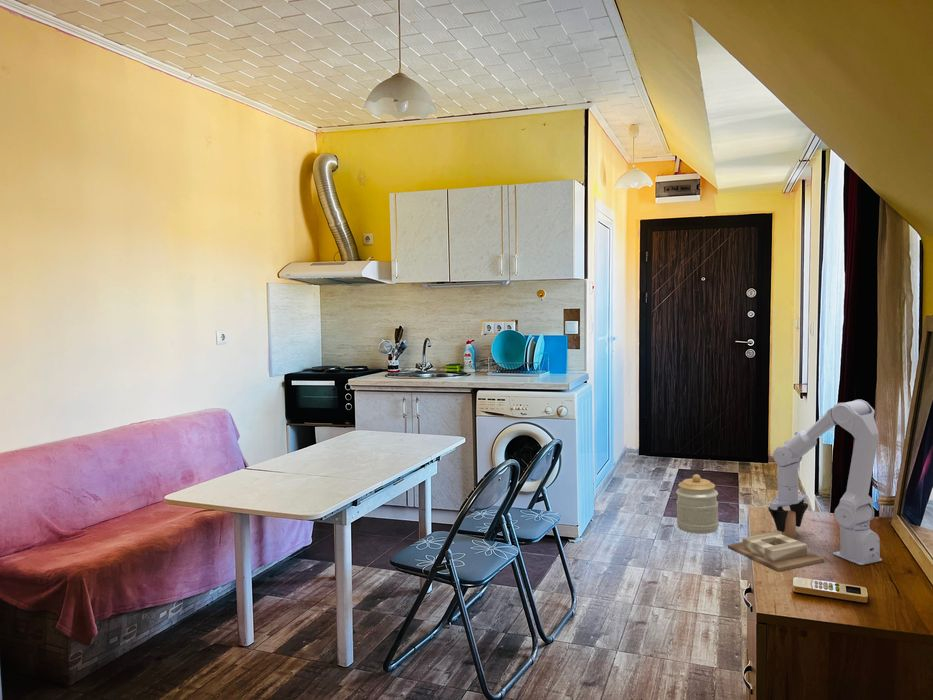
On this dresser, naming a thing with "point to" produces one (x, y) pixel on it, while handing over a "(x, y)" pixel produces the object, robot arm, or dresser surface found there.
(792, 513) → the peg
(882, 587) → the dresser surface
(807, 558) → the socket
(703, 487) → the jar
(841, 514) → the robot arm
